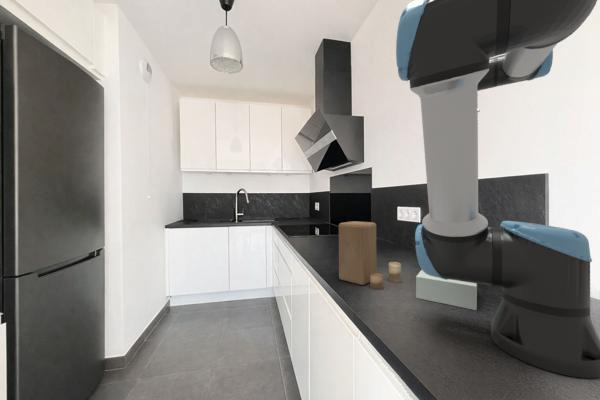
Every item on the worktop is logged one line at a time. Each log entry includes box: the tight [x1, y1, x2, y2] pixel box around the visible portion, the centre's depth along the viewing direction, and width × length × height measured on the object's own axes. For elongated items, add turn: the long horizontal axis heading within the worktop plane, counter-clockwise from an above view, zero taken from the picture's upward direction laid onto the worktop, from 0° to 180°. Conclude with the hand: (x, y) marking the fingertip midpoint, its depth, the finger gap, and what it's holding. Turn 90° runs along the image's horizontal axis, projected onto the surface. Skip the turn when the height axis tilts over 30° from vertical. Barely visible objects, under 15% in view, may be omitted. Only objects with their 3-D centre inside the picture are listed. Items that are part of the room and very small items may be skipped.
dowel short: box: [369, 273, 384, 291], centre depth 79 cm, size 4×4×4 cm
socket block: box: [415, 269, 478, 311], centre depth 72 cm, size 14×14×6 cm
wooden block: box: [338, 220, 378, 286], centre depth 87 cm, size 10×10×20 cm
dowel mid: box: [388, 261, 402, 284], centre depth 85 cm, size 4×4×6 cm
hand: (463, 188), depth 80 cm, fingers open, 13 cm apart
